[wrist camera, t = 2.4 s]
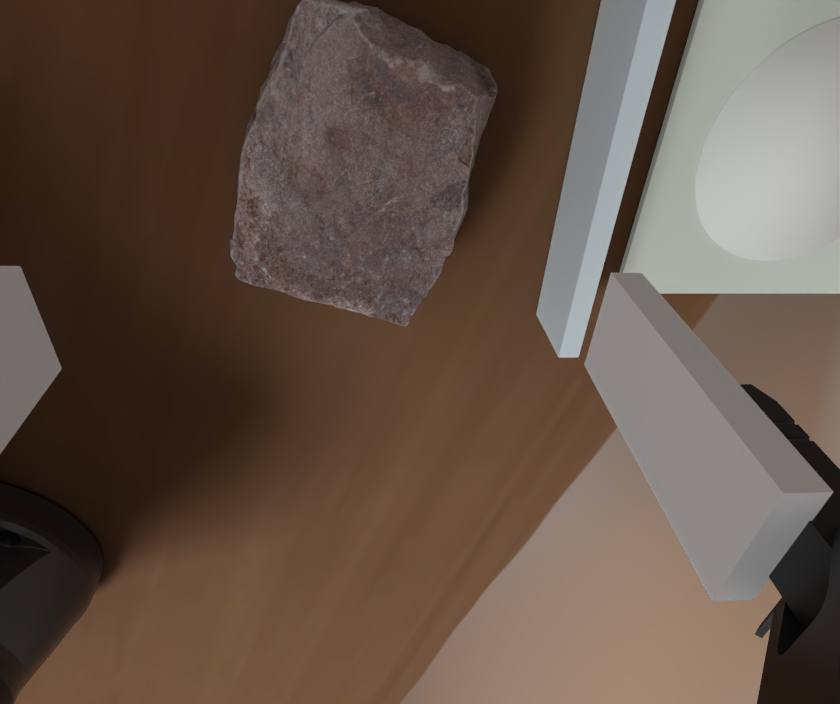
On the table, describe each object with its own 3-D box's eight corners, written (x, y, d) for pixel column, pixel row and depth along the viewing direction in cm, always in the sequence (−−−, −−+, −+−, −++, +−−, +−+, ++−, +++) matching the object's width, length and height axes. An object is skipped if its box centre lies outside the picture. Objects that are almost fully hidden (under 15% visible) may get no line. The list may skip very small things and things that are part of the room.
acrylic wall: (536, 314, 30) (558, 357, 27) (611, -53, 21) (660, -55, 17) (553, 314, 30) (578, 357, 27) (637, -51, 21) (690, -53, 17)
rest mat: (613, 289, 29) (617, 294, 29) (716, -62, 21) (724, -62, 20) (867, 289, 31) (874, 294, 31) (1060, -35, 22) (1073, -35, 22)
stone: (282, -36, 20) (269, -35, 16) (502, 58, 23) (535, 78, 19) (226, 250, 26) (207, 300, 22) (405, 298, 29) (415, 350, 25)
